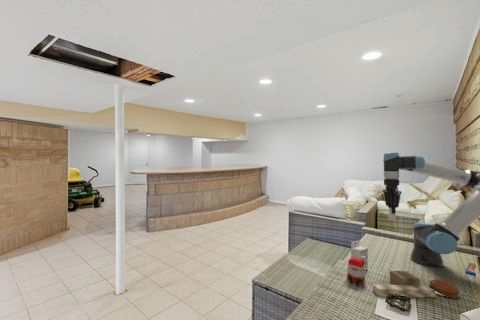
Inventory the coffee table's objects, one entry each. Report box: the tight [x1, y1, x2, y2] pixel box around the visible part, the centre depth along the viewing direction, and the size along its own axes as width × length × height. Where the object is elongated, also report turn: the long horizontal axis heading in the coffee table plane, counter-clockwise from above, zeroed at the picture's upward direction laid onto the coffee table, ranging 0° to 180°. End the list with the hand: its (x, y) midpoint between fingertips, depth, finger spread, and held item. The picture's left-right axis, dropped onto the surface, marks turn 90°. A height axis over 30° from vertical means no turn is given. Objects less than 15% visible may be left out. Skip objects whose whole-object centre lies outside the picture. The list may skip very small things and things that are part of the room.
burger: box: [428, 278, 460, 299], centre depth 99 cm, size 10×9×5 cm
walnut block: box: [389, 270, 421, 286], centre depth 103 cm, size 8×8×6 cm
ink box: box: [350, 239, 369, 268], centre depth 122 cm, size 8×5×15 cm, turn 123°
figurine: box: [346, 256, 367, 287], centre depth 107 cm, size 8×7×12 cm
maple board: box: [372, 283, 436, 298], centre depth 97 cm, size 24×4×3 cm, turn 89°
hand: (392, 218), depth 130 cm, fingers closed
